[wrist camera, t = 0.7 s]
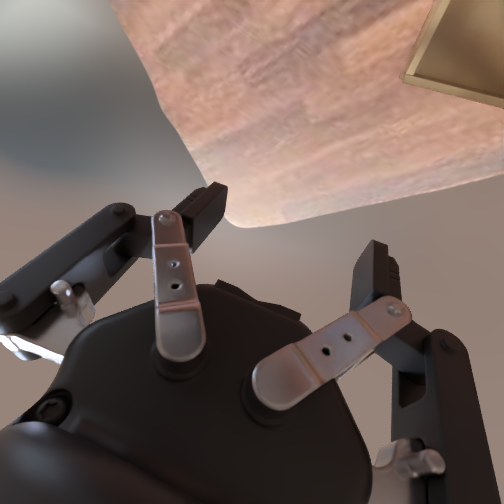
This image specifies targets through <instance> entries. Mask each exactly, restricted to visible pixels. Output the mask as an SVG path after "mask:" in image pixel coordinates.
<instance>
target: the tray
mask: <svg viewBox="0 0 504 504" xmlns="http://www.w3.org/2000/svg"><path fill="white" fill-rule="evenodd" d="M399 78H400V80H401V81H402V83H406V84H410V85H414V86H418V87H422V88H426V89H429V90H433V91H437V92H441V93H445V94H449V95H453V96H457V97H460V98H464V99H468V100H472V101H476V102H480V103H484V104H488V105H491V106H495V107H499V108H503V109H504V0H435V2H434V4H433V6H432V8H431V10H430V12H429V14H428V16H427V19H426V21H425V23H424V25H423V27H422V29H421V31H420V34H419V36H418V38H417V40H416V42H415V44H414V46H413V48H412V51H411V53H410V55H409V57H408V59H407V61H406V63H405V65H404V68H403V70H402V72H401V74H400V76H399Z"/></svg>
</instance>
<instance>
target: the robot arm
mask: <svg viewBox="0 0 504 504" xmlns="http://www.w3.org/2000/svg"><path fill="white" fill-rule="evenodd" d="M227 192H228V187H227V186H225V185H223V184H220V183H217V182H213V183H212V184H211V185H210V186H209V187H208V188H205V187H202V188H199V189H196V190H194V191H193V192H192V193H191V194H190V195H189V196H187V197H186V199H184V200H183V201H182V202H181V203H179V204H178V205H177V206H176V207H175V208H174V209H172V210H163V211H159V212H156V213H155V214H153V216H143V215H137V214H136V212H135V208H134V207H133V206H131V205H129V204H127V203H113V204H110V205H108V206H106V207H105V208H103V209H102V210H101V211H99V212H98V213H96V214H95V215H94V216H92V217H91V218H89V219H88V220H87V221H85V222H84V223H82V224H81V225H80V226H78V227H77V228H76V229H74V230H73V231H72V232H70V233H69V234H67V235H66V236H64V237H63V238H62V239H60V240H59V241H58V242H56V243H55V244H53V245H52V246H51V247H49V248H48V249H47V250H45V251H44V252H42V253H41V254H40V255H38V256H37V257H35V258H34V259H33V260H31V261H30V262H28V263H27V264H26V265H24V266H23V267H22V268H20V269H19V270H17V271H16V272H15V273H13V274H12V275H10V276H9V277H8V278H6V279H5V280H4V281H2V282H1V283H0V342H1V343H2V344H3V345H4V346H5V347H6V348H8V349H9V350H11V351H12V352H13V353H14V354H15V355H16V356H17V357H18V358H20V359H22V360H28V361H29V360H36V359H39V358H41V357H44V358H46V359H49V360H51V361H54V362H56V363H58V364H61V366H60V368H59V370H58V373H57V375H56V377H55V379H54V381H53V382H52V384H51V385H50V387H49V388H48V390H47V392H46V393H45V394H44V395H43V396H42V398H41V399H40V400H39V401H38V402H37V403H35V404H34V405H33V406H32V407H31V408H30V409H28V410H27V411H26V412H25V413H23V415H21V416H20V417H18V418H17V419H16V420H14V421H13V422H12V423H11V424H9V425H7V426H6V427H5V428H3V429H2V430H1V431H0V504H501V501H500V496H499V491H498V487H497V482H496V477H495V473H494V469H493V464H492V460H491V455H490V450H489V446H488V442H487V437H486V432H485V428H484V423H483V419H482V414H481V409H480V405H479V400H478V396H477V391H476V387H475V382H474V378H473V373H472V369H471V364H470V360H469V355H468V351H467V349H466V347H465V346H464V344H463V343H462V342H461V341H460V340H459V339H458V338H457V337H456V336H455V335H453V334H452V333H450V332H448V331H445V330H443V329H435V330H433V331H432V332H429V331H428V330H426V329H425V328H423V327H421V326H420V325H418V324H417V323H415V322H414V321H413V320H412V314H411V311H410V309H409V308H408V307H407V305H406V304H404V303H403V302H402V297H401V286H400V277H399V266H398V264H397V262H396V261H395V259H394V258H393V257H390V256H388V245H386V244H383V243H381V242H378V241H375V240H371V241H370V243H369V244H368V245H367V247H366V248H365V250H364V251H363V253H362V254H361V256H360V257H359V259H358V261H357V262H356V264H355V267H354V270H353V280H352V289H351V300H350V310H349V313H347V314H345V315H343V316H342V317H340V318H338V319H337V320H335V321H333V322H331V323H330V324H328V325H326V326H324V327H323V328H321V329H319V330H318V331H316V332H314V333H312V332H311V330H309V328H308V327H307V326H306V325H305V324H303V323H302V322H301V321H299V320H300V316H301V314H300V313H298V312H295V311H293V310H291V309H288V308H286V307H284V306H281V305H277V304H272V303H267V302H261V301H257V300H255V299H254V298H252V297H251V296H249V295H248V294H247V293H245V292H244V291H242V290H241V289H240V288H238V287H236V286H234V285H231V284H229V283H226V282H224V281H221V280H219V279H218V280H217V282H216V284H215V285H213V284H198V285H196V284H195V279H194V273H193V268H192V262H191V256H190V254H193V253H194V252H195V251H196V250H197V248H198V247H199V246H200V245H201V243H202V242H203V241H204V240H205V239H206V237H207V236H208V235H209V234H210V233H211V231H212V230H213V229H214V228H215V227H216V225H217V224H218V223H219V222H220V221H221V219H222V217H223V215H224V212H225V207H226V200H227ZM139 257H142V258H149V259H153V277H154V296H155V299H154V300H151V301H148V302H146V303H143V304H140V305H138V306H135V307H132V308H129V309H127V310H124V311H121V312H118V313H116V314H113V315H110V316H108V317H105V318H102V319H100V320H97V321H95V322H93V323H92V324H90V322H91V321H92V319H93V318H94V316H95V308H94V305H95V304H96V303H97V302H98V301H99V300H100V299H101V298H102V297H103V295H104V294H105V293H106V292H107V291H108V290H109V289H110V288H111V287H112V286H113V285H114V284H115V283H116V282H117V281H118V280H119V279H120V277H121V276H122V275H123V274H124V273H125V272H126V271H127V270H128V269H129V268H130V267H131V266H132V265H133V264H134V263H135V261H136V260H137V259H138V258H139ZM89 324H90V325H89ZM374 353H376V354H378V355H379V356H380V357H382V358H383V359H384V360H386V361H387V362H388V363H390V364H391V365H392V366H393V367H392V420H391V443H388V444H385V445H383V446H382V447H381V448H380V449H379V452H378V455H377V460H376V463H375V465H374V466H372V464H371V459H370V455H369V452H368V449H367V447H366V445H365V442H364V440H363V438H362V435H361V433H360V431H359V429H358V427H357V425H356V423H355V420H354V419H353V416H352V414H351V412H350V410H349V407H348V405H347V403H346V401H345V399H344V397H343V395H342V392H341V390H340V388H339V386H338V384H337V382H338V381H339V380H340V379H342V378H343V377H344V376H345V375H347V374H348V373H349V372H350V371H351V370H353V369H354V368H356V367H357V366H358V365H359V364H361V363H362V362H364V361H365V360H366V359H368V358H369V357H370V356H372V355H373V354H374Z"/></svg>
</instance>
